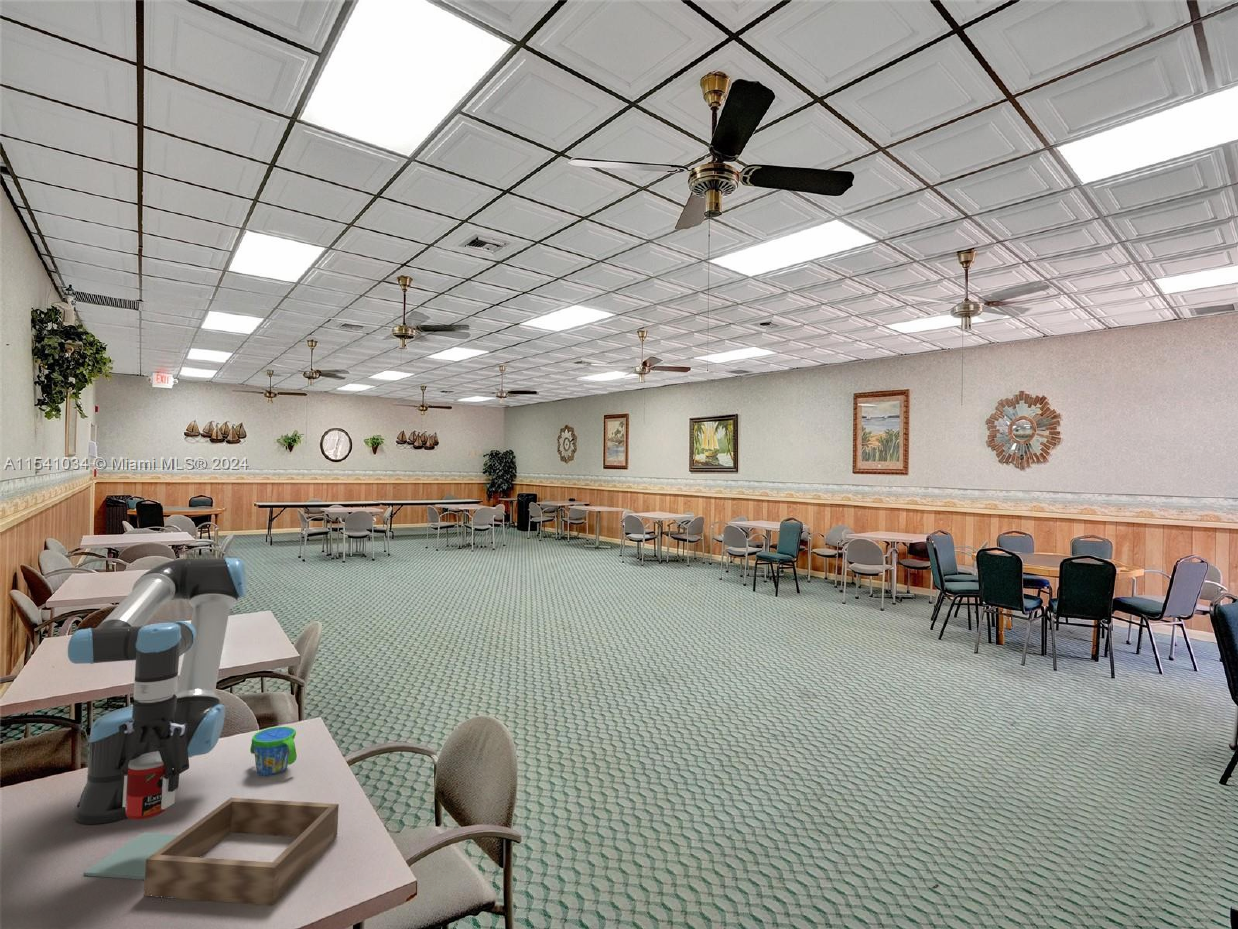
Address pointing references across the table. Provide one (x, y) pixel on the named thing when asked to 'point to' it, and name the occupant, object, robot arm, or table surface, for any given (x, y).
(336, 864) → the table surface
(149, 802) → the canned food
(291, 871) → the frame
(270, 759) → the snack cup
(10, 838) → the table surface
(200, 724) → the robot arm
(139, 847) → the mat
